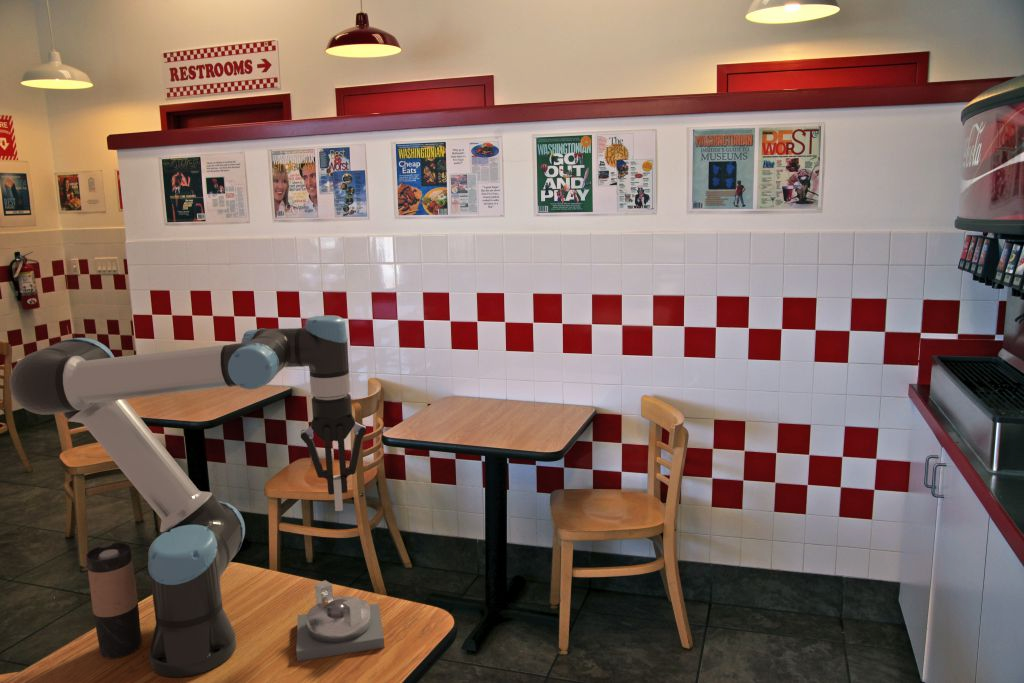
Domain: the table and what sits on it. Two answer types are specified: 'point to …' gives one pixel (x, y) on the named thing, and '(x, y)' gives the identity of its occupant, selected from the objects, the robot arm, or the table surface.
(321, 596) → the silver metal dome
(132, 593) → the travel mug
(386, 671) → the table surface
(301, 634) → the gray square base plate
